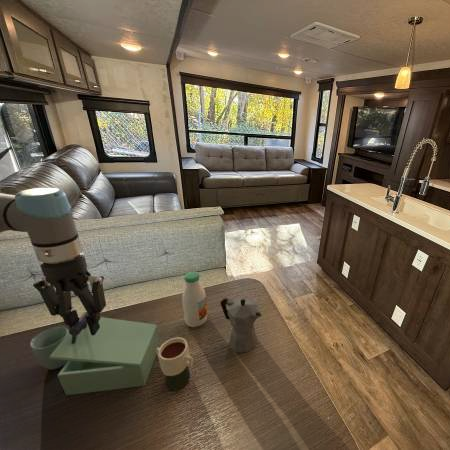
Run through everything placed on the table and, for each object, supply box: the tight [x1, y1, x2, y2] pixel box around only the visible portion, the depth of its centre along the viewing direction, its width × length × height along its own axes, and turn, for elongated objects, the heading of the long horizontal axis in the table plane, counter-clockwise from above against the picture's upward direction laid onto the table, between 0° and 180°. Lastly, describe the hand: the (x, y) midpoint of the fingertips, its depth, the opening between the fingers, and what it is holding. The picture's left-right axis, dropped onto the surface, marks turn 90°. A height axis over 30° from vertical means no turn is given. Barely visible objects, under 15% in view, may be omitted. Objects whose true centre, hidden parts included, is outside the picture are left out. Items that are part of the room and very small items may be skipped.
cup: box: [29, 325, 69, 371], centre depth 70 cm, size 8×8×10 cm
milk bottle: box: [181, 271, 208, 328], centre depth 87 cm, size 8×8×20 cm
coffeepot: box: [219, 297, 262, 353], centre depth 81 cm, size 15×9×18 cm, turn 67°
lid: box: [50, 311, 158, 366], centre depth 67 cm, size 19×14×6 cm
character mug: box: [156, 337, 194, 391], centre depth 68 cm, size 11×7×13 cm, turn 77°
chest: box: [57, 326, 161, 396], centre depth 71 cm, size 19×14×8 cm
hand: (86, 331), depth 66 cm, fingers open, 3 cm apart
